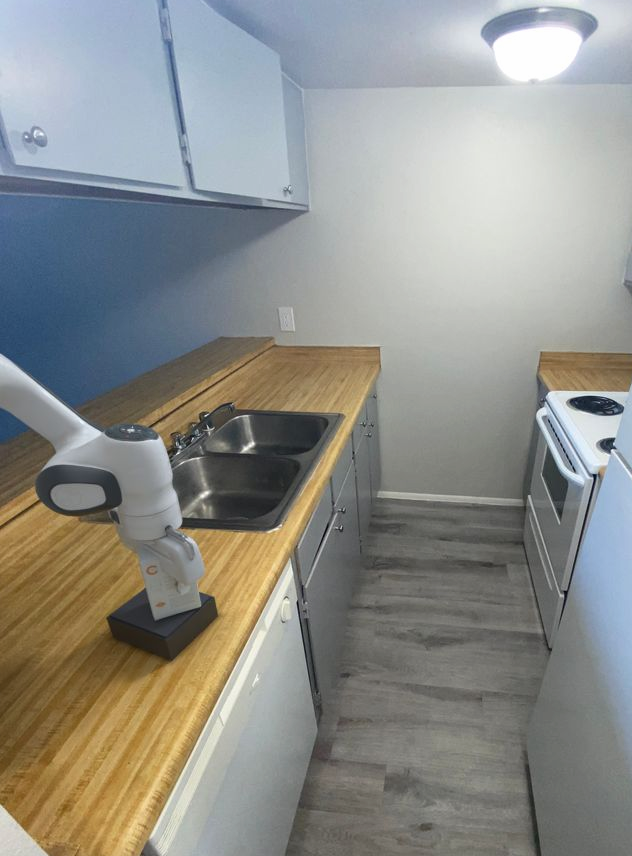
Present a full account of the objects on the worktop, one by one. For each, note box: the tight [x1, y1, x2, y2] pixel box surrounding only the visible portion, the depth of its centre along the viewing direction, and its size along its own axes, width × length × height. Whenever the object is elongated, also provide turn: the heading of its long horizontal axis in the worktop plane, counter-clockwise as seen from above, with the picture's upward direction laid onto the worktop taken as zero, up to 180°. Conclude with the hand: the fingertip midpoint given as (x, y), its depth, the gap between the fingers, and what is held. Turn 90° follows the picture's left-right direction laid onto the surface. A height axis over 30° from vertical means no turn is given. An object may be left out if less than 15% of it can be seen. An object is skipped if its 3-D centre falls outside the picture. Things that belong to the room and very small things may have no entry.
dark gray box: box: [105, 587, 219, 662], centre depth 89 cm, size 14×12×5 cm
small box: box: [137, 532, 201, 620], centre depth 85 cm, size 8×6×13 cm
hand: (168, 581), depth 86 cm, fingers closed on small box, 8 cm apart
